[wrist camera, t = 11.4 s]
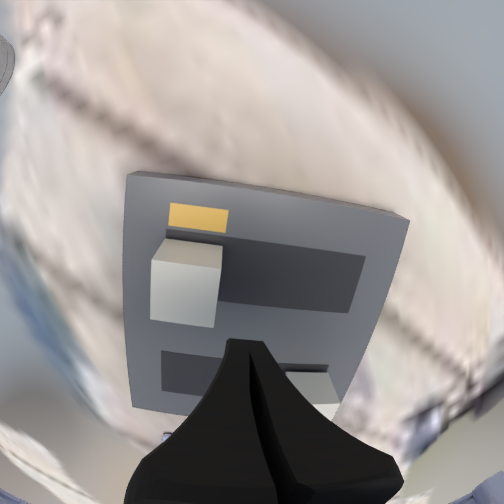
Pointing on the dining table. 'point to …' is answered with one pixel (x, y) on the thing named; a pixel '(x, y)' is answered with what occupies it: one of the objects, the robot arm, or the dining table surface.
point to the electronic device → (5, 63)
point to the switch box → (254, 282)
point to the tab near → (185, 282)
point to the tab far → (317, 391)
